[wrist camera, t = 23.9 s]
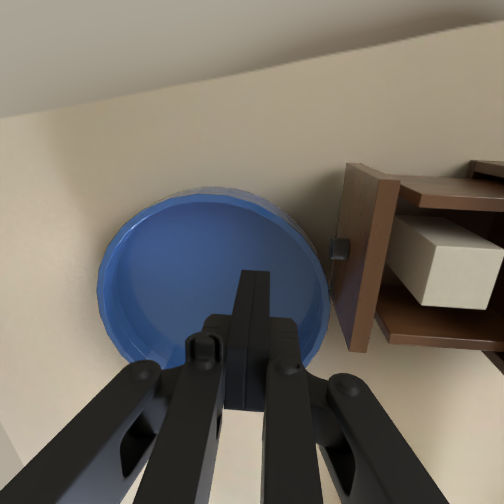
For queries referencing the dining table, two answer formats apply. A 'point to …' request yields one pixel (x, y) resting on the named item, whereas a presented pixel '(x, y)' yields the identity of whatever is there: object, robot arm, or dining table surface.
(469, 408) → the dining table surface
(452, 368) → the dining table surface
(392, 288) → the drawer
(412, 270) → the block
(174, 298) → the bowl
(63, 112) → the dining table surface
